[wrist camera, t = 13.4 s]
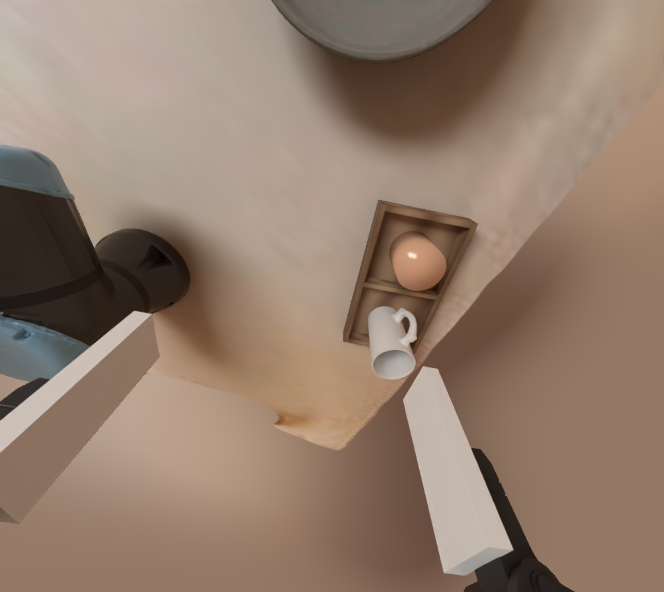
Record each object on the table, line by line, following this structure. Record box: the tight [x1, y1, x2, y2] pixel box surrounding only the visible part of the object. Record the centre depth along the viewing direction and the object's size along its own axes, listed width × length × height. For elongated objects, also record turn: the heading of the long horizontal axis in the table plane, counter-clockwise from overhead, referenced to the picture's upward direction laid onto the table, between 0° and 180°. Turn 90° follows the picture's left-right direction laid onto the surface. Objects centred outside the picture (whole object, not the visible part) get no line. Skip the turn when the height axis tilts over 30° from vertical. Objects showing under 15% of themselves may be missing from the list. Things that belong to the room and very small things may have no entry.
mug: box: [368, 306, 417, 380], centre depth 44 cm, size 10×7×12 cm, turn 149°
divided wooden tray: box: [343, 200, 478, 354], centre depth 45 cm, size 15×26×3 cm, turn 169°
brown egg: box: [389, 231, 446, 291], centre depth 39 cm, size 7×7×7 cm
